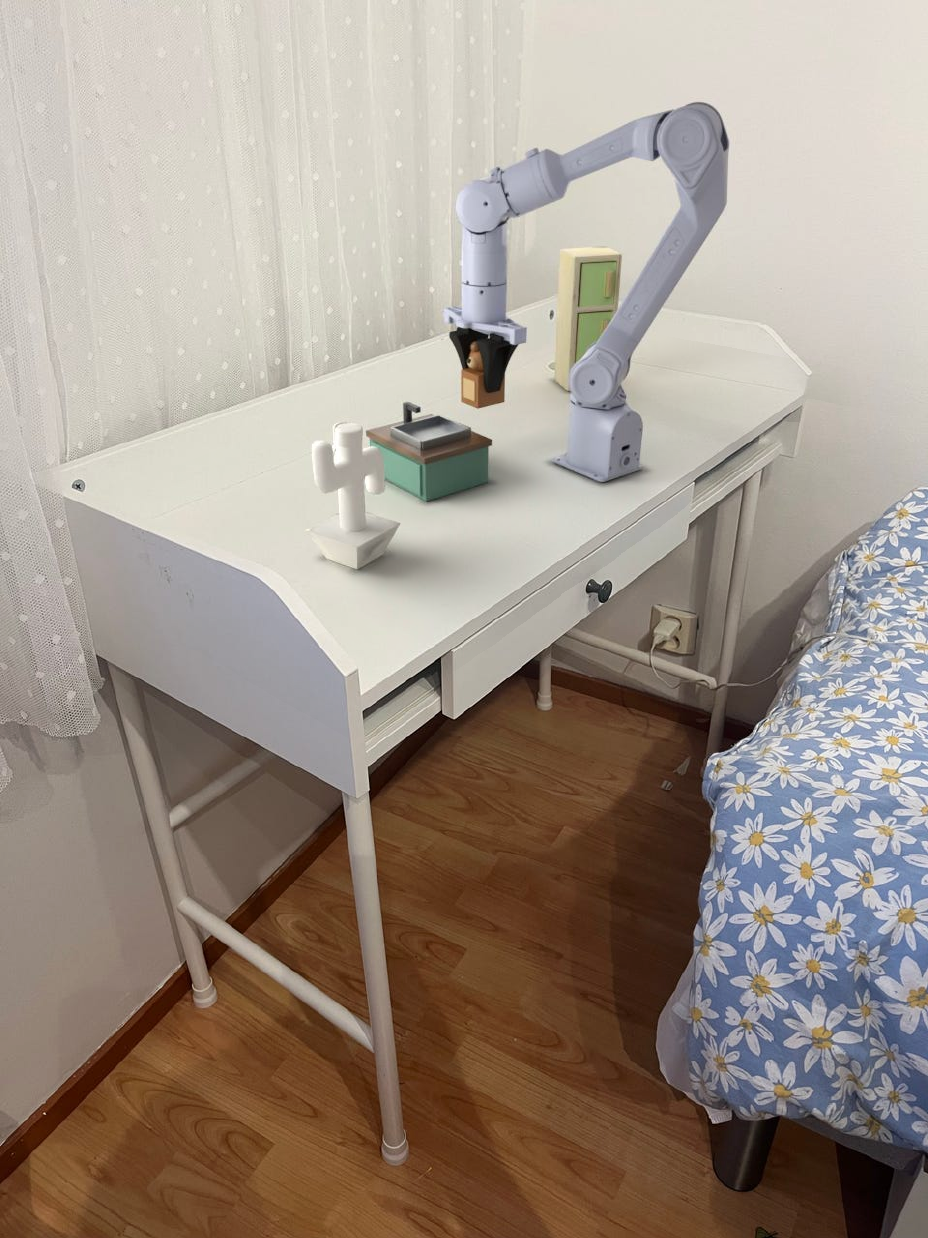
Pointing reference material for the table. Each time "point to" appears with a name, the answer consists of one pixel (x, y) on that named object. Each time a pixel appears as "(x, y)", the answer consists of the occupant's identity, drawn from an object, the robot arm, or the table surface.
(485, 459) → the toy sink
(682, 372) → the table surface
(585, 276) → the toy refrigerator
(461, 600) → the table surface
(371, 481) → the figurine
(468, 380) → the toy bear
